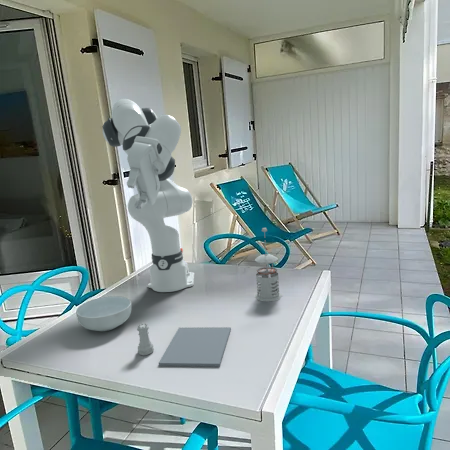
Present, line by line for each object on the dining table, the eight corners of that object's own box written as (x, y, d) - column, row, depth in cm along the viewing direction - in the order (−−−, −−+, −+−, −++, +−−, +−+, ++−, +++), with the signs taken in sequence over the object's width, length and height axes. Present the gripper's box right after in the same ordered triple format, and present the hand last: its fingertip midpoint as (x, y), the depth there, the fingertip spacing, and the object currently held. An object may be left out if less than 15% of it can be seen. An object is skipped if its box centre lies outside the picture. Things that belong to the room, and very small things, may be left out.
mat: (179, 329, 124) (179, 327, 124) (230, 329, 121) (230, 327, 121) (158, 365, 105) (158, 362, 105) (219, 366, 102) (219, 363, 102)
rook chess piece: (147, 346, 116) (144, 320, 114) (157, 350, 113) (154, 324, 111) (134, 352, 113) (131, 326, 111) (144, 357, 109) (140, 330, 108)
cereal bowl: (82, 343, 120) (78, 321, 119) (76, 323, 135) (73, 303, 134) (138, 329, 127) (136, 307, 126) (127, 310, 142) (125, 291, 141)
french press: (252, 300, 142) (247, 231, 137) (258, 288, 153) (254, 223, 148) (280, 302, 139) (276, 230, 134) (285, 289, 150) (281, 223, 145)
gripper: (148, 181, 124) (131, 217, 117) (134, 131, 107) (113, 170, 100) (168, 185, 123) (151, 221, 116) (157, 135, 106) (137, 174, 99)
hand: (133, 197), depth 108 cm, fingers open, 8 cm apart
